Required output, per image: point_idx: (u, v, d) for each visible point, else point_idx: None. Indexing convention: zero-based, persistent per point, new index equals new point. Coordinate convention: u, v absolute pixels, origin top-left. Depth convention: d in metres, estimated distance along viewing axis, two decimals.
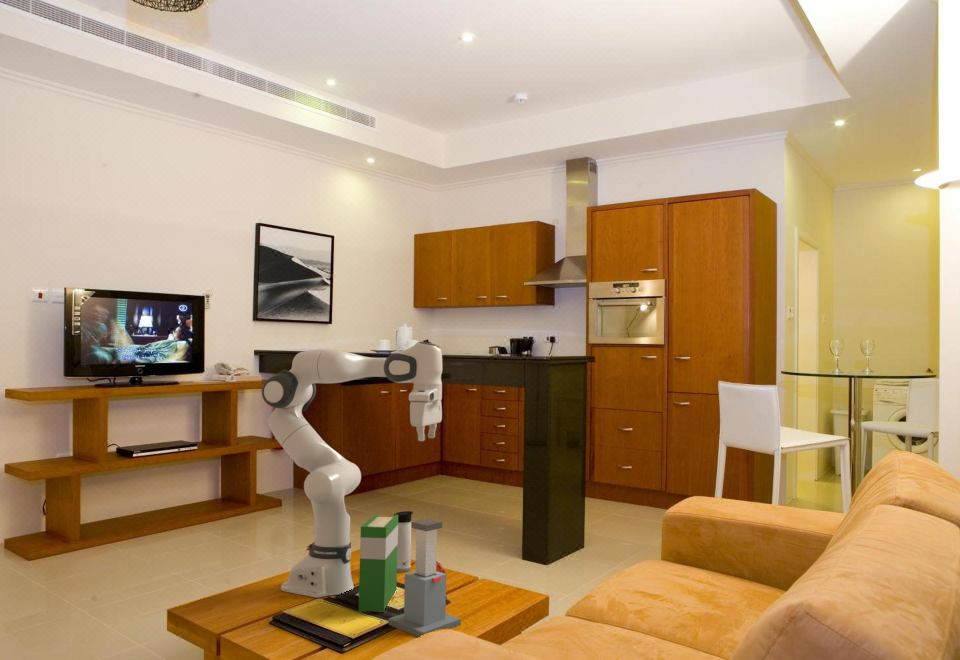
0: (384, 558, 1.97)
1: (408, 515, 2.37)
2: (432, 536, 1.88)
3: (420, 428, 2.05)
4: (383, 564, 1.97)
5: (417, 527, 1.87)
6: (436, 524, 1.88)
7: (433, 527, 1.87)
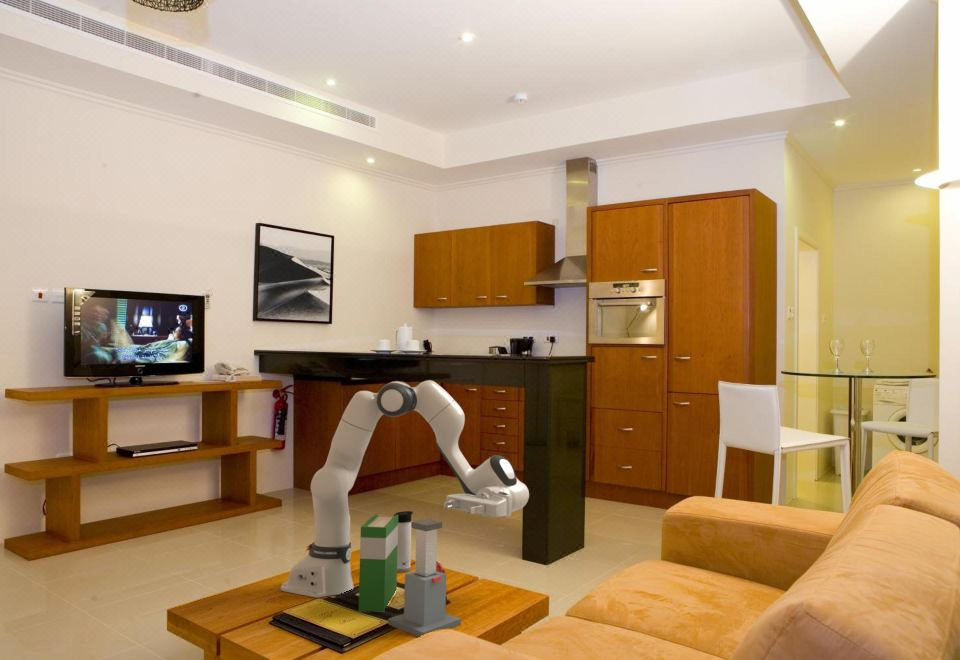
0: (384, 558, 1.97)
1: (408, 515, 2.37)
2: (432, 536, 1.88)
3: (483, 510, 1.97)
4: (383, 564, 1.97)
5: (417, 527, 1.87)
6: (436, 524, 1.88)
7: (433, 527, 1.87)
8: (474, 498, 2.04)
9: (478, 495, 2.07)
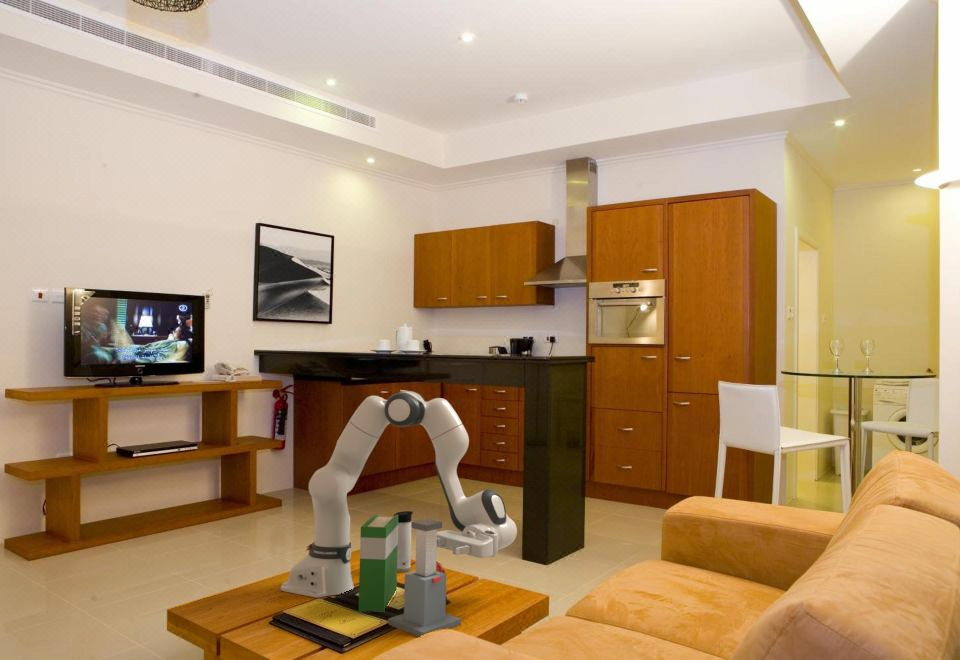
0: (384, 558, 1.97)
1: (408, 515, 2.37)
2: (432, 536, 1.88)
3: (468, 551, 1.92)
4: (383, 564, 1.97)
5: (417, 527, 1.87)
6: (436, 524, 1.88)
7: (433, 527, 1.87)
8: (460, 537, 1.99)
9: (464, 533, 2.02)
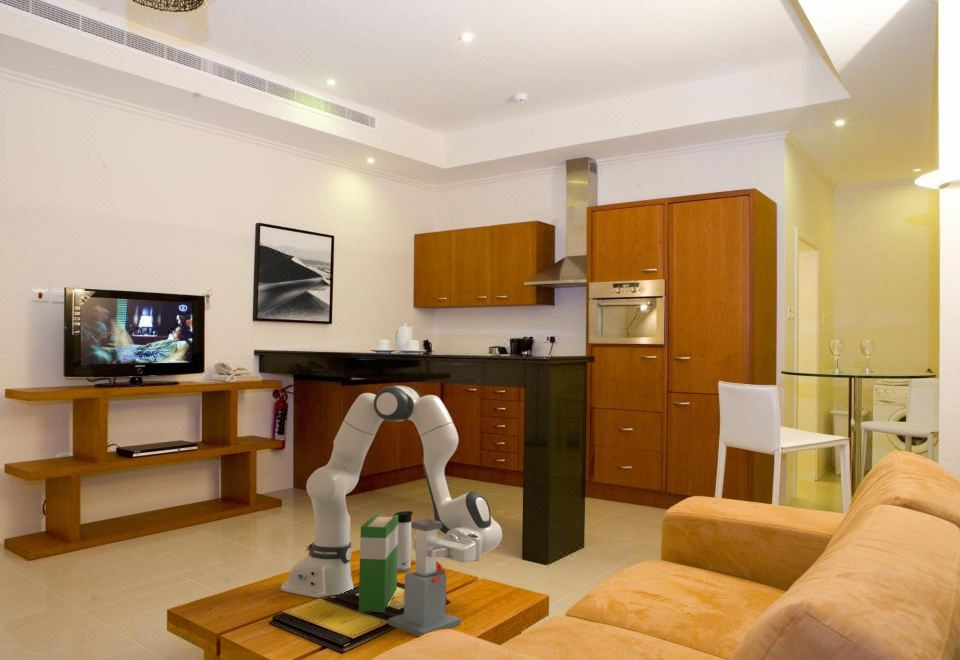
0: (384, 558, 1.97)
1: (408, 515, 2.37)
2: (432, 536, 1.88)
3: (445, 554, 1.88)
4: (383, 564, 1.97)
5: (417, 527, 1.87)
6: (436, 524, 1.88)
7: (433, 527, 1.87)
8: (442, 540, 1.94)
9: (447, 537, 1.97)
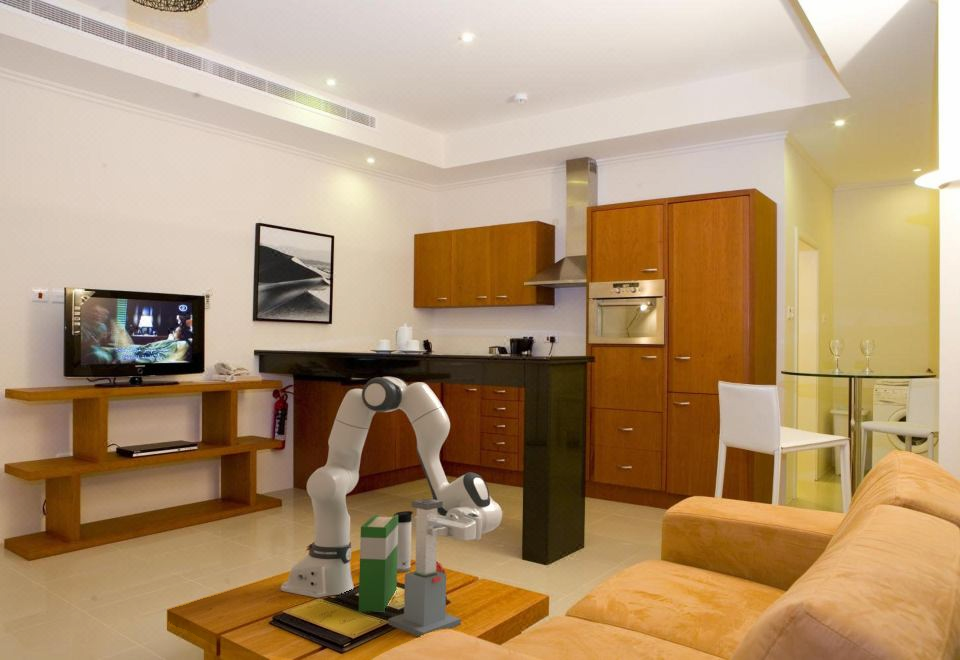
0: (384, 558, 1.97)
1: (408, 515, 2.37)
2: (433, 515, 1.88)
3: (445, 532, 1.88)
4: (383, 564, 1.97)
5: (417, 506, 1.88)
6: (436, 503, 1.88)
7: (434, 506, 1.87)
8: (443, 520, 1.94)
9: (447, 516, 1.97)
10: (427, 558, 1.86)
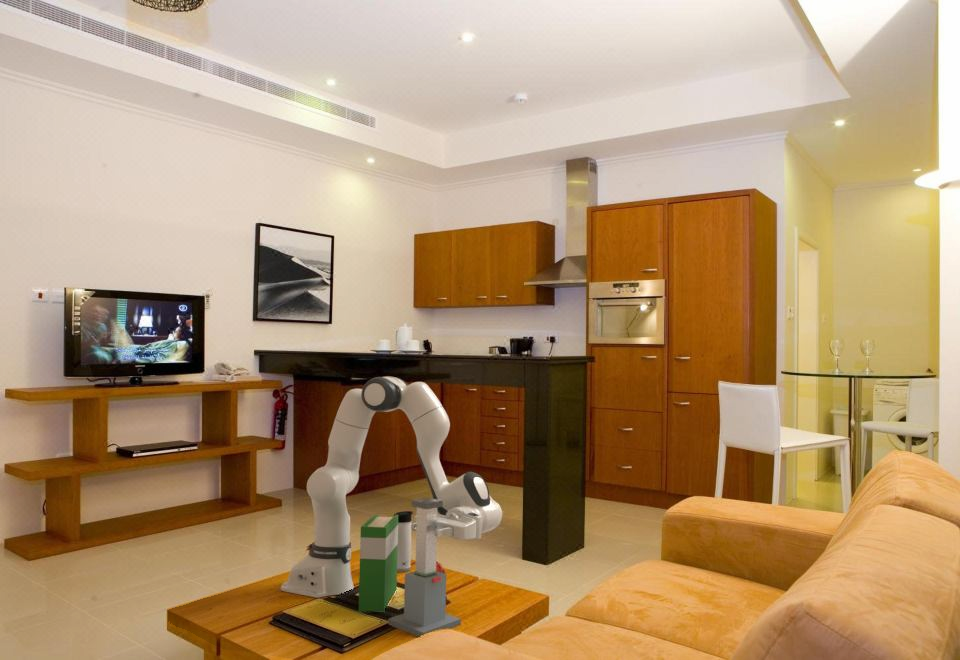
0: (384, 558, 1.97)
1: (408, 515, 2.37)
2: (433, 515, 1.88)
3: (451, 533, 1.87)
4: (383, 564, 1.97)
5: (417, 505, 1.88)
6: (436, 502, 1.88)
7: (434, 505, 1.87)
8: (443, 519, 1.94)
9: (447, 516, 1.97)
10: (427, 558, 1.86)
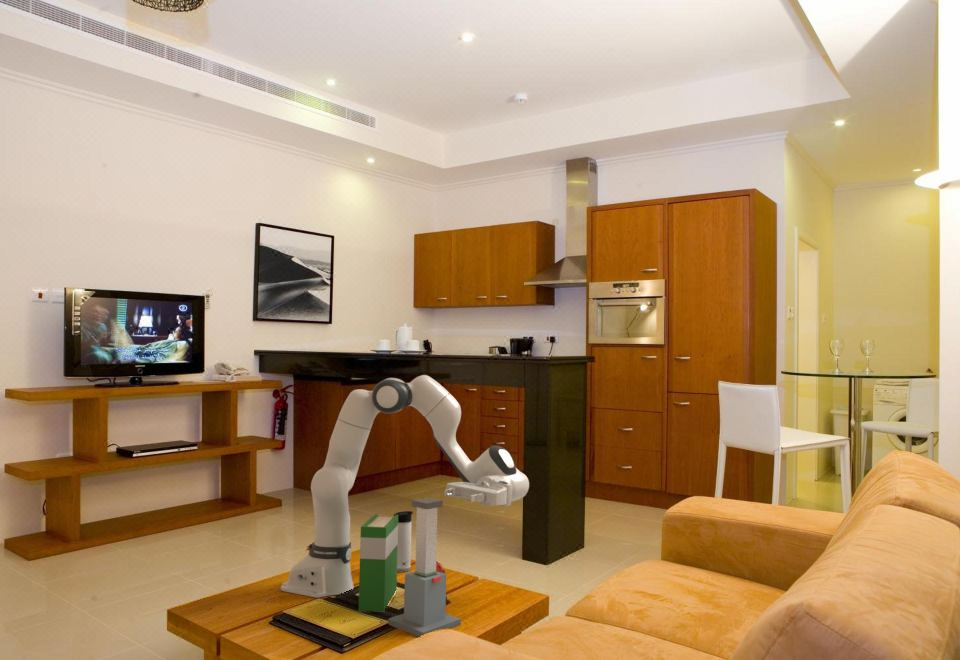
0: (384, 558, 1.97)
1: (408, 515, 2.37)
2: (433, 515, 1.88)
3: (483, 498, 1.97)
4: (383, 564, 1.97)
5: (417, 505, 1.88)
6: (436, 502, 1.88)
7: (434, 505, 1.87)
8: (474, 486, 2.04)
9: (478, 484, 2.07)
10: (427, 558, 1.86)
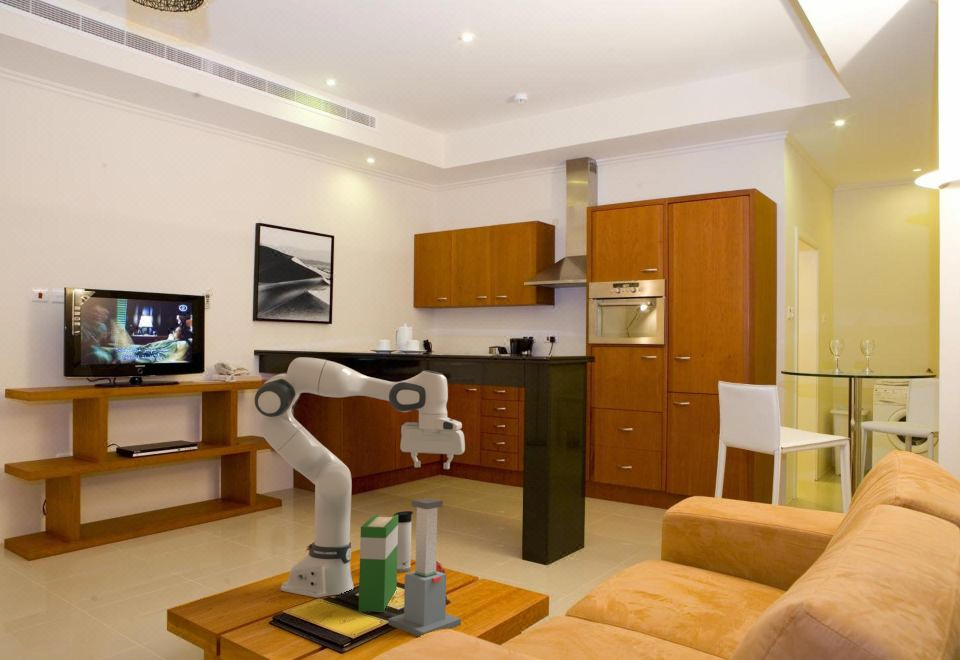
0: (384, 558, 1.97)
1: (408, 515, 2.37)
2: (433, 515, 1.88)
3: (452, 456, 2.11)
4: (383, 564, 1.97)
5: (417, 505, 1.88)
6: (436, 502, 1.88)
7: (434, 505, 1.87)
8: (429, 444, 2.11)
9: (426, 434, 2.11)
10: (427, 558, 1.86)
